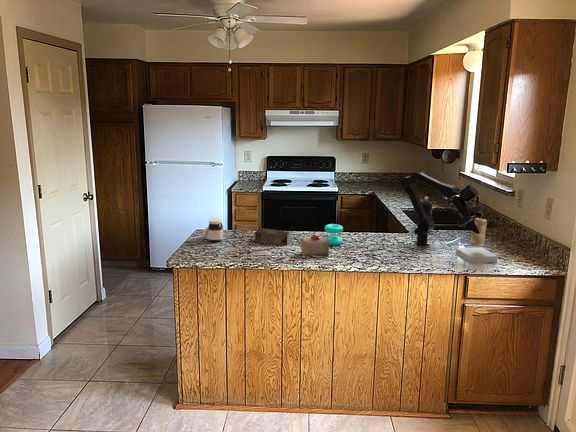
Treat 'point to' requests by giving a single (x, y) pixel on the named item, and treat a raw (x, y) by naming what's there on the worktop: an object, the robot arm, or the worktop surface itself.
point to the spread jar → (214, 230)
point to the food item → (315, 246)
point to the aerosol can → (427, 207)
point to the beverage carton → (273, 236)
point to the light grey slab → (476, 255)
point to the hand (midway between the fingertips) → (481, 232)
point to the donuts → (334, 229)
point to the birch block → (479, 238)
